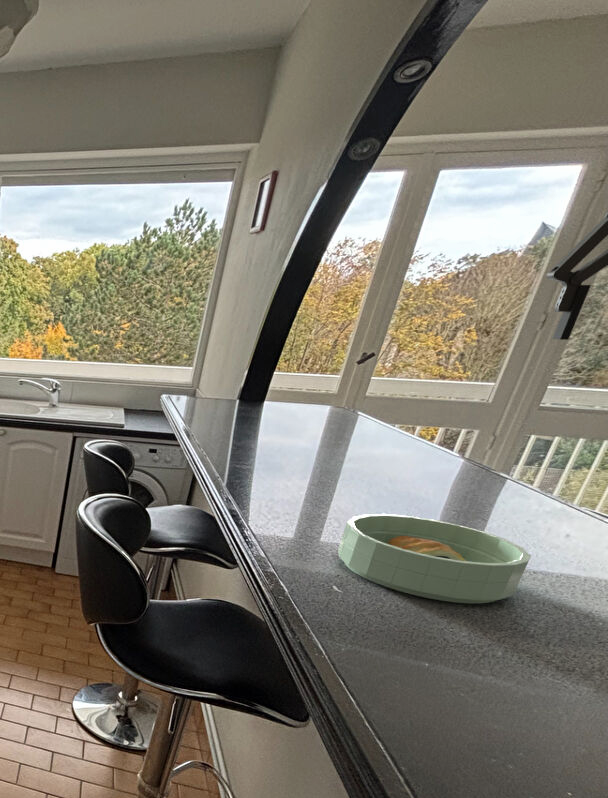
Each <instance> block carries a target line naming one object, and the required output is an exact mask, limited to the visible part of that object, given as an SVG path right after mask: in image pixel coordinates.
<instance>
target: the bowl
mask: <svg viewBox="0 0 608 798" xmlns="http://www.w3.org/2000/svg"><path fill="white" fill-rule="evenodd" d="M399 536H409V537H414V538H420V539H430V540H433V541H437V542H440V543H442V544H444V545H448V546H450V547H451V548H452V549H453V550H454V551H456V552H457V553H459V554H461V556H462V558H464V559H465V560H466V561H459V560H453V559H447V558H441V557H435V556H430V555H426V554H421V553H417V552H413V551H409V550H405V549H402V548H398V547H395V546H392V545H389V544H387V542H388V541H389V540H391V539H393V538H395V537H399ZM337 554H338V558H339V559H340V560H341V561H342V562H343V563H344V565H345V566H346V567H347V568H348V569H349V570H351V572H353V573H355V574H356V575H358V576H360V577H362V578H364V579H366V580H367V581H370V582H373V583H374V584H376V585H377V584H378V585H380V586H382V587H385V588H389V589H392V590H394V591H398V592H401V593H405V594H408V595H413V596H417V597H422V598H426V599H431V600H437V601H441V602H449V603H460V604H488V603H493V602H496V601H501V600H503V599H508V598H510V597H513V596H515V595H514V594H515V593H516V591H517V588H518V587H519V584H520V581H521V579H522V577H523V575H524V573H525V570H526V568H527V566H528V563H529V561H530V558H531V556H532V555H531V554H530V553H529V552H528V551H527V550H526V549H525V548H524V547H522V546H520V545H518V544H516V543H514V542H513V541H510V540H508V539H506V538H504V537H500V536H498V535H495V534H493V533H489V532H487V531H483V530H480V529H476V528H472V527H469V526H465V525H461V524H456V523H452V522H447V521H443V520H442V521H441V520H437V519H432V518H424V517H417V516H410V515H402V514H401V515H399V514H389V513H388V514H387V513H378V514H376V513H375V514H373V513H372V514H362V515H357V516H352V517H351V518H350V519H349V520H347V521H346V524H345V527H344V530H343V533H342V536H341V539H340V543H339V545H338V548H337Z"/></svg>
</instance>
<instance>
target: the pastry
mask: <svg viewBox="0 0 608 798" xmlns="http://www.w3.org/2000/svg"><path fill="white" fill-rule="evenodd" d="M387 544H389V545H392V546H395V547H398V548H402V549H405V550H409V551H413V552H417V553H421V554H426V555H430V556H435V557H441V558H447V559H453V560H459V561H466V560H465V559H464V558H462V556H461V554H459V553H457V552H456V551H454V550H453V549H452V548H451V547H450V546H448V545H444V544H442V543H440V542H437V541H433V540H430V539H420V538H414V537H409V536H399V537H395V538H393V539H391V540H389V541H388V542H387Z"/></svg>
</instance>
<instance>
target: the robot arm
mask: <svg viewBox="0 0 608 798" xmlns="http://www.w3.org/2000/svg"><path fill="white" fill-rule="evenodd" d="M606 237H608V210H607V211H606V213H605V214H604V216H603V218H602V219H601V220H600V221H599V222H598V223H596V225H595V226H594V227H592V229H591V230H590V231H589V232H588V233H586V235H584V237H582V239H581V240H580V241H578V242H577V244H576V245H575V246H574V247H572V249H571V250H570V251H568V253H566V255H564V256H563V257H562V258H561V260H559V261H558V262H557V263H556V264H555V265H554V266H553V267H552V268H551V269H550V270H549V271H548V272H547V274H546V278H547V279H548V280H552V281H554V282H557V283H561V285H562V287H561V290H560V293H559V295H558V297H557V300H556V302H555V305H554V312H561V316H560V318H559V321H558V324H557V325H556V328H555V331H554V334H553V336H552V340H561V341H562V340H563V341H568V340H569V339H570V337H571V334H572V332H573V329H574V327H575V324H576V322H577V320H578V317H579V315H580V312H581V310H582V308H583V305H584V304H585V300H586V299H587V295H588V293H589V291H590V289H591V284H583V282H585V281H587V280H588V279H589V278H591V277H593V276H594V275H595V274H597V273H599V272H600V271H602V270H603V269H605V268H606V267H608V248H606V250H604V251H602V252H600V254H598V255H596V256H595V257H594V258H592V259H591V260H589V261H588V262H586V263H585V264H583V265H582V266H580V267H579V268H577V269H576V270H574V269H575V267H577V265H579V264H580V263H581V262H582V261H583V260H584V259H585V258H586V257H587V256H588V255H589V254H590V253H591V252H592V251H593V250H594V249H595V248H596V247H597V246H598V245H599V244H600V243H602V241H604V239H605V238H606ZM572 270H574V271H572Z"/></svg>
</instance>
